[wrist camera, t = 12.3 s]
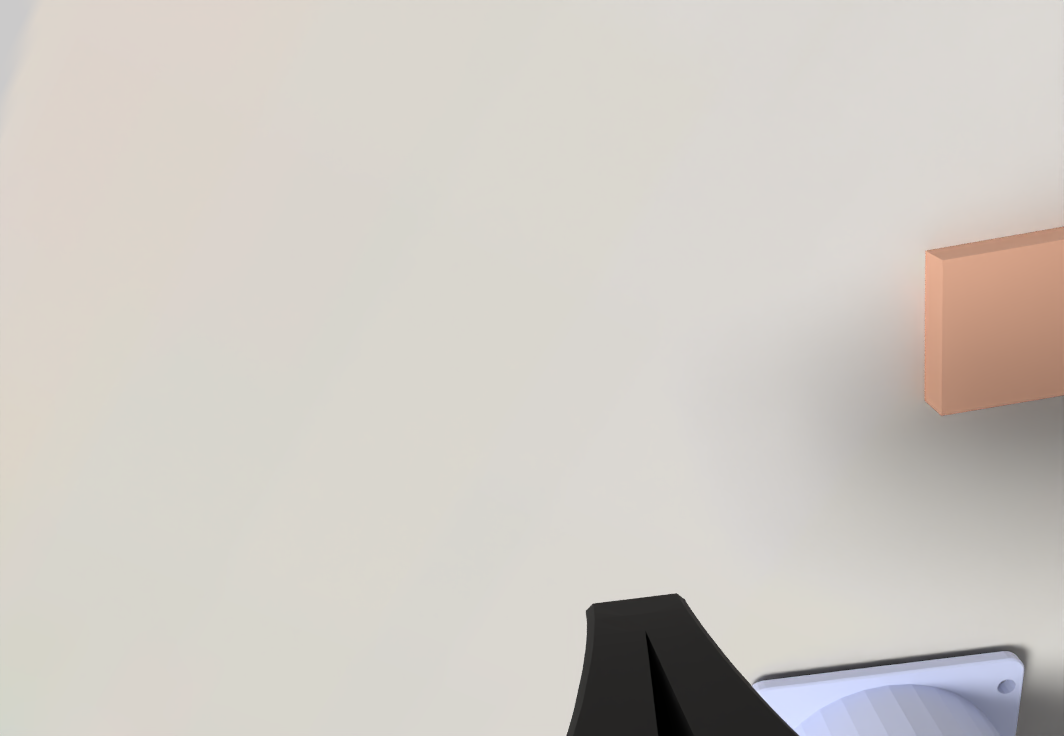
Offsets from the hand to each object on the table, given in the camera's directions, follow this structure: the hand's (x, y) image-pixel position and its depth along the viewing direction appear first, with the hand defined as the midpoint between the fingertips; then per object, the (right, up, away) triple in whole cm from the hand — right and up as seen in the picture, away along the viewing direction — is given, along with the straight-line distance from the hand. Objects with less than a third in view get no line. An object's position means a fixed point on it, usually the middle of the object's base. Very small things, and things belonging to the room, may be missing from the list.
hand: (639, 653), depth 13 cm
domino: (+8, +5, +9) cm, 13 cm away
